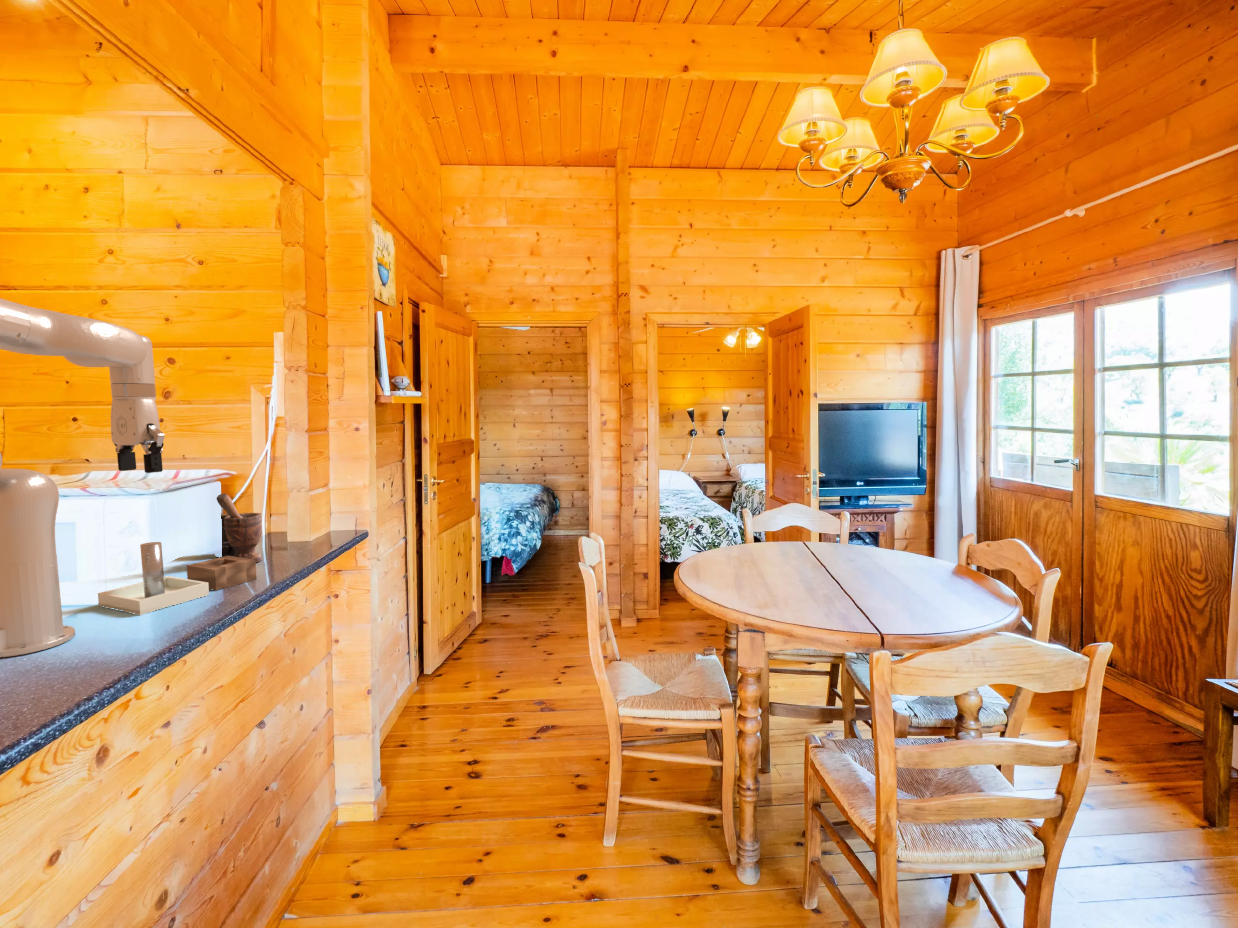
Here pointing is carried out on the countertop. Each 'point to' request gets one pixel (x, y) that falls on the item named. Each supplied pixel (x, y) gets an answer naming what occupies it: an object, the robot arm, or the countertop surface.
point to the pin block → (223, 571)
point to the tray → (137, 603)
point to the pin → (152, 569)
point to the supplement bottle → (226, 540)
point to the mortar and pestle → (241, 529)
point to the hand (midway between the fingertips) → (140, 471)
